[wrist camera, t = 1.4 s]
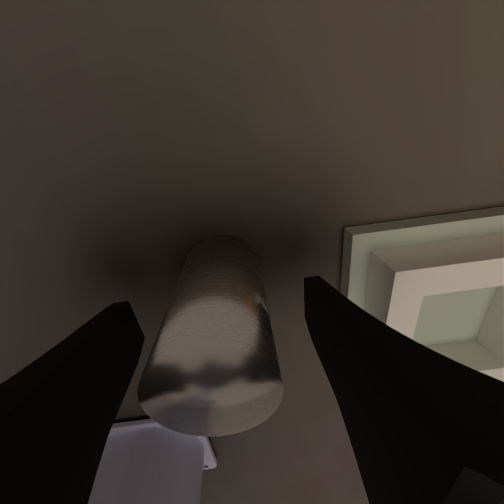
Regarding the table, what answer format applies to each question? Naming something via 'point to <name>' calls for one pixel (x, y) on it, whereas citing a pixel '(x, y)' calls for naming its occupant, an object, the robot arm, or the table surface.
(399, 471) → the robot arm
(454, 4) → the table surface
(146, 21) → the table surface
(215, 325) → the grey cylinder
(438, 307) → the socket
